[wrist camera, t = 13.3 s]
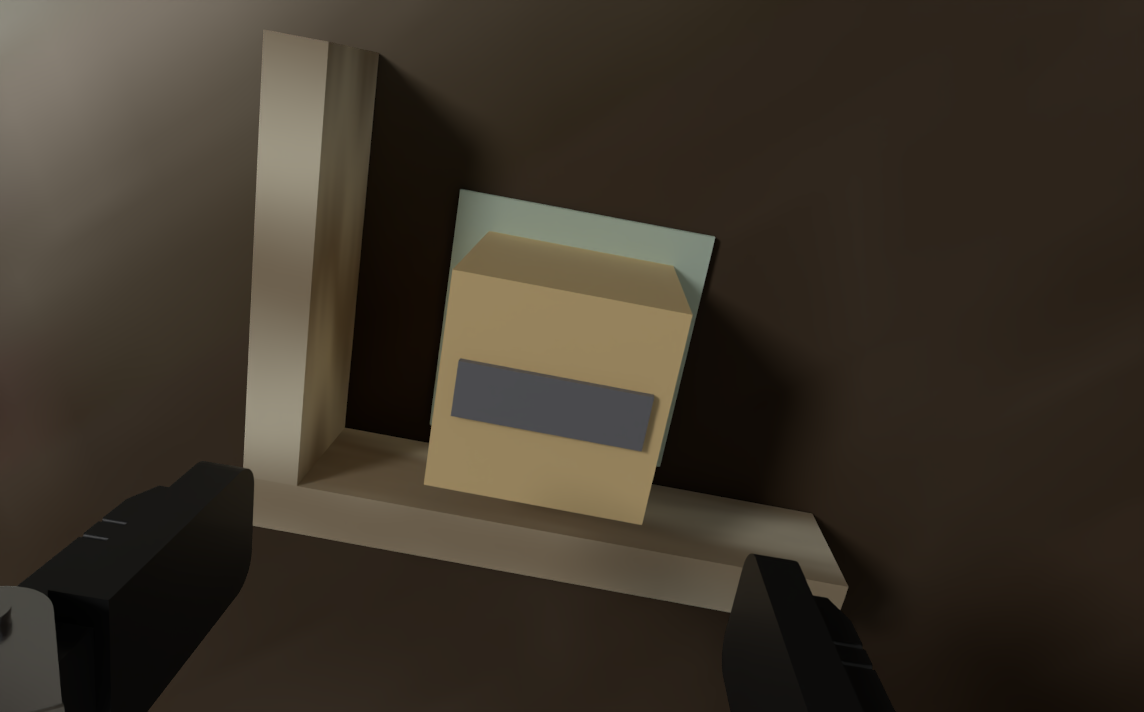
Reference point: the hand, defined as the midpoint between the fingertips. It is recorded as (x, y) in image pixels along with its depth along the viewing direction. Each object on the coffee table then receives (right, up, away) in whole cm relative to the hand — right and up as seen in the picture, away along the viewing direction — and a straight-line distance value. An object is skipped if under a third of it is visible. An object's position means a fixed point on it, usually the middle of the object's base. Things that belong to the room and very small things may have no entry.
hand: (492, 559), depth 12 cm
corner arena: (+1, +5, +11) cm, 12 cm away
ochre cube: (+1, +4, +11) cm, 12 cm away
